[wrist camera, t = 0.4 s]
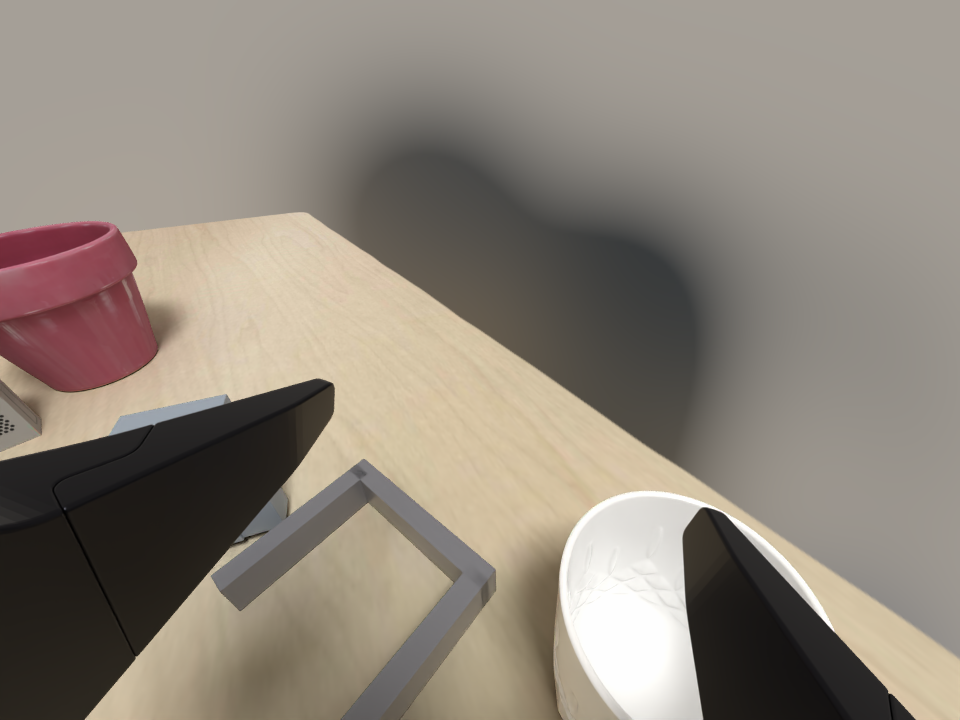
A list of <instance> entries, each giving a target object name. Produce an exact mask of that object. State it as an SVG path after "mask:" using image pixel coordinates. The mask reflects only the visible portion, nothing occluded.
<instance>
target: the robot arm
mask: <svg viewBox="0 0 960 720" xmlns="http://www.w3.org/2000/svg"><path fill="white" fill-rule="evenodd" d="M334 396H335V387H334V385H333V383H331V382H328V381H325V380H322V379H313V380H310V381H306V382H302V383H299V384H295V385H292V386H288V387H284V388H281V389H277V390H274V391H270V392H266V393H263V394H259V395H256V396H252V397H248V398H245V399H241V400H237V401H234V402H230V403H227V404H223V405H219V406H216V407H212V408H209V409H205V410H201V411H198V412H194V413H191V414H187V415H183V416H180V417H176V418H173V419H169V420H165V421H162V422H158V423H156V424H155V425H153V424H151V425H147V426H144V427H140V428H136V429H133V430H129V431H125V432H122V433H118V434H114V435H110V436H106V437H102V438H99V439H95V440H90V441H86V442H82V443H78V444H73V445H69V446H65V447H61V448H56V449H52V450H47V451H43V452H38V453H34V454H29V455H25V456H20V457H16V458H11V459H7V460H3V461H0V720H85V718H86V717H87V716H88V715H89V714H90V712H91V711H92V710H93V709H94V708H95V707H96V705H97V704H98V703H99V702H100V701H101V699H102V698H103V697H104V696H105V695H106V694H107V692H108V691H109V690H110V689H111V688H112V686H113V685H114V684H115V683H116V682H117V681H118V679H119V678H120V677H121V676H122V675H123V673H124V672H125V671H126V670H127V669H128V668H129V666H130V665H131V664H132V663H133V662H134V661H135V659H136V656H138V655H139V654H140V653H141V652H142V651H143V649H144V648H145V647H146V646H147V645H148V644H149V642H150V641H151V640H152V639H153V638H154V636H155V635H156V634H157V633H158V632H159V631H160V629H161V628H162V627H163V626H164V625H165V623H166V622H167V621H168V620H169V619H170V618H171V616H172V615H173V614H174V613H175V612H176V610H177V609H178V608H179V607H180V606H181V605H182V603H183V602H184V601H185V600H186V599H187V598H188V596H189V595H190V594H191V593H192V592H193V590H194V589H195V588H196V587H197V586H198V585H199V583H200V582H201V581H202V580H203V579H204V577H205V576H206V575H207V574H208V573H209V572H210V570H211V569H212V568H213V567H214V566H215V564H216V563H217V562H218V561H219V560H220V559H221V557H222V556H223V555H224V554H225V553H226V551H227V550H228V549H229V548H230V547H231V546H232V544H233V543H234V542H235V541H236V540H237V539H238V537H239V536H240V535H241V534H242V533H243V531H244V530H245V529H246V528H247V527H248V526H249V524H250V523H251V522H252V521H253V520H254V518H255V517H256V516H257V515H258V514H259V513H260V511H261V510H262V509H263V508H264V507H265V505H266V504H267V503H268V502H269V501H270V500H271V498H272V497H273V496H274V495H275V494H276V492H277V491H278V490H279V489H280V488H281V487H282V485H283V484H284V483H285V482H286V481H287V480H288V478H289V477H290V476H291V475H292V474H293V472H294V471H295V470H296V469H297V467H298V466H299V465H300V463H301V462H302V460H303V459H304V458H305V456H306V455H307V453H308V452H309V450H310V449H311V447H312V446H313V444H314V443H315V441H316V440H317V438H318V437H319V435H320V434H321V432H322V431H323V429H324V428H325V427H326V425H327V424H328V422H329V421H330V419H331V417H332V415H333V412H334ZM682 544H683V565H684V586H685V603H686V612H687V620H688V626H689V632H690V639H691V645H692V652H693V658H694V664H695V671H696V677H697V683H698V690H699V696H700V703H701V709H702V715H703V720H916V719H915V718H914V717H913V716H912V715H911V714H910V713H909V712H908V711H907V710H906V709H905V707H904V706H903V705H902V704H901V703H900V702H899V701H898V700H897V699H896V698H895V697H894V696H893V695H892V694H889V693H888V690H887V688H886V687H885V686H884V685H883V684H882V683H881V682H880V681H879V680H878V678H877V677H876V676H875V675H874V674H873V673H872V672H871V671H870V670H869V669H868V668H867V667H866V666H865V665H864V663H863V662H862V661H861V660H860V659H859V658H858V657H857V656H856V655H855V654H854V653H853V652H852V651H851V649H850V648H849V647H848V646H847V645H846V644H845V643H844V642H843V641H842V640H841V639H840V638H839V637H838V635H837V634H836V633H835V632H834V631H833V630H832V629H831V628H830V627H829V626H828V625H827V624H826V623H825V621H824V620H823V619H822V618H821V617H820V616H819V615H818V614H817V613H816V612H815V611H814V610H813V609H812V607H811V606H810V605H809V604H808V603H807V602H806V601H805V600H804V599H803V598H802V597H801V596H800V595H799V593H798V592H797V591H796V590H795V589H794V588H793V587H792V586H791V585H790V584H789V583H788V582H787V581H786V579H785V578H784V577H783V576H782V575H781V574H780V573H779V572H778V571H777V570H776V569H775V568H774V567H773V565H772V564H771V563H770V562H769V561H768V560H767V559H766V558H765V557H764V556H763V555H762V554H761V553H760V551H759V550H758V549H757V548H756V547H755V546H754V545H753V544H752V543H751V542H750V541H749V540H748V539H747V537H746V536H745V535H744V534H743V533H742V532H741V531H740V530H739V529H738V528H737V527H736V526H735V525H734V523H733V522H732V521H731V520H730V519H729V518H728V517H727V516H726V515H725V514H724V513H722V512H720V511H717V510H714V509H711V508H708V507H702V508H700V509H699V510H698V512H697V513H696V514H695V516H694V517H693V518H692V520H691V521H690V522H689V524H688V525H687V527H686V528H685V530H684V532H683V537H682Z"/></svg>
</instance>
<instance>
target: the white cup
mask: <svg viewBox="0 0 960 720" xmlns="http://www.w3.org/2000/svg"><path fill="white" fill-rule="evenodd" d="M702 507H708V508H711V509H714V510H717V511H720V512H722V513H724V514H725V515H726V516H727V517H728V518H729V519H730V520H731V521H732V522H733V523H734V525H735V526H736V527H737V528H738V529H739V530H740V531H741V532H742V533H743V534H744V535H745V536H746V537H747V539H748V540H749V541H750V542H751V543H752V544H753V545H754V546H755V547H756V548H757V549H758V550H759V551H760V553H761V554H762V555H763V556H764V557H765V558H766V559H767V560H768V561H769V562H770V563H771V564H772V565H773V567H774V568H775V569H776V570H777V571H778V572H779V573H780V574H781V575H782V576H783V577H784V578H785V579H786V581H787V582H788V583H789V584H790V585H791V586H792V587H793V588H794V589H795V590H796V591H797V592H798V593H799V595H800V596H801V597H802V598H803V599H804V600H805V601H806V602H807V603H808V604H809V605H810V606H811V607H812V609H813V610H814V611H815V612H816V613H817V614H818V615H819V616H820V617H821V618H822V619H823V620H824V621H825V623H826V624H827V625H828V626H829V627H830V628H831V629H832V630H833V631H834V629H833V627H832V624H831V622H830V620H829V619H828V617H827V615H826V613H825V611H824V609H823V608H822V606H821V604H820V603H819V601H818V599H817V598H816V596H815V595H814V593H813V592H812V590H811V589H810V588H809V586H808V585H807V584H806V582H805V581H804V580H803V578H802V577H801V576H800V575H799V573H798V572H797V571H796V570H795V569H794V568H793V566H792V565H791V564H790V563H789V562H788V561H787V560H786V559H785V558H784V557H783V556H782V555H781V554H780V553H779V552H778V551H777V550H776V549H775V548H774V547H773V546H772V545H771V544H769V543H768V542H767V541H766V540H765V539H764V538H762V537H761V536H760V535H759V534H757V533H756V532H755V531H753V530H752V529H751V528H749V527H748V526H746V525H745V524H743V523H742V522H740V521H739V520H737V519H736V518H734V517H732V516H731V515H729V514H727V513H725V512H723V511H721V510H719V509H717V508H715V507H713V506H711V505H709V504H706V503H704V502H701V501H699V500H696V499H693V498H690V497H686V496H683V495H679V494H674V493H668V492H661V491H635V492H628V493H624V494H620V495H616V496H613V497H611V498H608V499H606V500H604V501H602V502H601V503H599V504H597V505H596V506H594V507H593V508H592V509H590V510H589V511H588V512H587V513H586V514H585V515H584V516H583V517H582V518H581V519H580V520H579V521H578V523H577V524H576V525H575V527H574V528H573V530H572V532H571V534H570V536H569V538H568V540H567V542H566V545H565V548H564V551H563V555H562V559H561V565H560V573H559V585H558V596H557V606H556V616H555V626H554V666H553V669H554V678H555V688H556V697H557V706H558V711H559V713H560V715H561V717H562V719H563V720H703V715H702V709H701V703H700V696H699V690H698V683H697V677H696V671H695V664H694V658H693V652H692V645H691V639H690V632H689V626H688V620H687V612H686V603H685V586H684V565H683V544H682V537H683V532H684V530H685V528H686V527H687V525H688V524H689V522H690V521H691V520H692V518H693V517H694V516H695V514H696V513H697V512H698V510H699V509H700V508H702ZM834 632H835V631H834Z"/></svg>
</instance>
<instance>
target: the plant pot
mask: <svg viewBox="0 0 960 720" xmlns="http://www.w3.org/2000/svg"><path fill="white" fill-rule="evenodd" d="M136 266H137V260H136V258H135V256H134V254H133V252H132V251H131V249H130V247H129V246H128V244H127V242H126V241H125V239H124V237H123V236H122V234H121V233H120V231H119V229H118V228H117V227H116V226H115V225H113V224H111V223H108V222H98V221H87V222H71V223H62V224H55V225H47V226H40V227H34V228H28V229H22V230H16V231H11V232H6V233H1V234H0V356H2V357H4V358H5V359H7V360H8V361H10V362H11V363H13V364H15V365H16V366H18V367H19V368H21V369H23V370H24V371H26V372H27V373H29V374H31V375H32V376H34V377H36V378H37V379H39V380H41V381H42V382H44V383H45V384H47V385H48V386H50V387H51V388H53V389H55V390H59V391H68V392H70V391H81V390H87V389H92V388H96V387H99V386H103V385H106V384H109V383H111V382H114V381H116V380H119V379H121V378H123V377H125V376H127V375H129V374H131V373H133V372H135V371H137V370H138V369H140V368H141V367H143V366H144V365H146V364H147V363H148V362H149V361H150V360H151V359H152V358H153V357H154V356H155V354H156V352H157V349H158V346H157V343H156V340H155V337H154V334H153V331H152V328H151V325H150V322H149V319H148V315H147V312H146V309H145V307H144V304H143V301H142V298H141V295H140V292H139V290H138V287H137V284H136V281H135V279H134V276H133V273H132V272H133V271H134V269H135V268H136Z"/></svg>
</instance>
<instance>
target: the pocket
mask: <svg viewBox="0 0 960 720" xmlns="http://www.w3.org/2000/svg"><path fill="white" fill-rule="evenodd" d="M367 502H369V503H370V504H371V505H372V506H373V507H374V508H375V509H376V510H377V511H378V512H379V513H380V514H382V515H383V516H384V517H385V518H386V519H387V520H388V521H389V522H390V523H391V524H392V525H393V526H394V527H395V528H397V529H398V530H399V531H400V532H401V533H402V534H403V535H404V536H405V537H406V538H407V539H408V540H409V541H410V542H412V543H413V544H414V545H415V546H416V547H417V548H418V549H419V550H420V551H421V552H422V553H423V554H424V555H425V556H426V557H428V558H429V559H430V560H431V561H432V562H433V563H434V564H435V565H436V566H437V567H438V568H439V569H440V570H441V571H443V572H444V573H445V574H446V575H447V576H448V577H449V578H450V579H451V580H452V581H453V582H454V584H453V585H452V587H451V588H450V589H449V590H448V591H447V593H446V594H445V595H444V596H443V597H442V599H441V600H440V601H439V602H438V603H437V605H436V606H435V607H434V608H433V609H432V611H431V612H430V613H429V614H428V615H427V617H426V618H425V619H424V620H423V621H422V623H421V624H420V625H419V626H418V627H417V629H416V630H415V631H414V632H413V633H412V635H411V636H410V637H409V638H408V639H407V641H406V642H405V643H404V644H403V645H402V647H401V648H400V649H399V650H398V651H397V653H396V654H395V655H394V656H393V657H392V659H391V660H390V661H389V662H388V663H387V665H386V666H385V667H384V668H383V669H382V671H381V672H380V673H379V674H378V675H377V677H376V678H375V679H374V680H373V681H372V683H371V684H370V685H369V686H368V687H367V689H366V690H365V691H364V692H363V693H362V695H361V696H360V697H359V698H358V699H357V701H356V702H355V703H354V704H353V705H352V707H351V708H350V709H349V710H348V711H347V713H346V714H345V715H344V716H343V717H342V719H341V720H400V718H401V717H402V716H403V714H404V713H405V712H406V710H407V709H408V708H409V706H410V705H411V704H412V702H413V701H414V700H415V698H416V697H417V696H418V694H419V693H420V692H421V690H422V689H423V688H424V686H425V685H426V684H427V682H428V681H429V680H430V678H431V677H432V676H433V674H434V673H435V671H436V670H437V669H438V667H439V666H440V665H441V663H442V662H443V661H444V659H445V658H446V657H447V655H448V654H449V653H450V651H451V650H452V649H453V647H454V646H455V645H456V643H457V642H458V641H459V639H460V638H461V637H462V635H463V634H464V633H465V631H466V630H467V629H468V627H469V626H470V625H471V623H472V622H473V620H474V619H475V618H476V616H477V615H478V614H479V612H480V611H481V610H482V608H483V607H484V606H485V604H486V603H487V602H488V600H489V599H490V598H491V596H492V595H493V594H494V592H495V591H496V569H494V568H493V567H492V566H491V565H490V564H489V563H487V562H486V561H485V560H484V559H483V558H481V557H480V556H479V555H478V554H477V553H476V552H474V551H473V550H472V549H471V548H470V547H468V546H467V545H466V544H465V543H464V542H462V541H461V540H460V539H459V538H458V537H457V536H455V535H454V534H453V533H452V532H451V531H449V530H448V529H447V528H446V527H445V526H443V525H442V524H441V523H440V522H439V521H438V520H436V519H435V518H434V517H433V516H432V515H430V514H429V513H428V512H427V511H426V510H425V509H423V508H422V507H421V506H420V505H419V504H417V503H416V502H415V501H414V500H413V499H411V498H410V497H409V496H408V495H407V494H406V493H404V492H403V491H402V490H401V489H400V488H398V487H397V486H396V485H395V484H394V483H392V482H391V481H390V480H389V479H388V478H387V477H385V476H384V475H383V474H382V473H381V472H379V471H378V470H377V469H376V468H375V467H374V466H372V465H371V464H370V463H369V462H368V461H366V460H365V459H363V460H361V461H360V462H359V463H358V464H356V465H355V466H354V467H352V468H351V469H350V470H348V471H347V472H346V473H344V474H343V475H342V476H341V477H339V478H338V479H337V480H335V481H334V482H333V483H331V484H330V485H329V486H328V487H326V488H325V489H324V490H322V491H321V492H320V493H318V494H317V495H316V496H314V497H313V498H312V499H311V500H309V501H308V502H307V503H305V504H304V505H303V506H301V507H300V508H299V509H297V510H296V511H295V512H294V513H292V514H291V515H290V516H288V517H287V518H286V519H284V520H283V521H282V522H280V523H279V524H278V525H277V526H275V527H274V528H273V529H271V530H270V531H269V532H267V533H266V534H265V535H263V536H262V537H261V538H260V539H258V540H257V541H256V542H254V543H253V544H252V545H250V546H249V547H248V548H247V549H245V550H244V551H243V552H241V553H240V554H239V555H237V556H236V557H235V558H233V559H232V560H231V561H230V562H228V563H227V564H226V565H224V566H223V567H222V568H220V569H219V570H218V571H216V572H215V573H214V574H213V575H211V577H212V579H213V581H214V582H215V584H216V586H217V588H218V589H219V591H220V592H221V593H222V594H223V595H224V596H225V597H226V598H227V599H228V600H229V601H230V602H231V603H232V604H233V605H234V606H235V607H236V608H237V609H238V610H239V611H241V610H242V609H243V608H244V607H246V606H247V605H248V604H249V603H250V602H251V601H253V600H254V599H255V598H256V597H257V596H258V595H260V594H261V593H262V592H263V591H264V590H265V589H267V588H268V587H269V586H270V585H271V584H273V583H274V582H275V581H276V580H277V579H278V578H280V577H281V576H282V575H283V574H284V573H285V572H287V571H288V570H289V569H290V568H291V567H292V566H294V565H295V564H296V563H297V562H298V561H299V560H301V559H302V558H303V557H304V556H305V555H307V554H308V553H309V552H310V551H311V550H312V549H314V548H315V547H316V546H317V545H318V544H319V543H321V542H322V541H323V540H324V539H325V538H326V537H328V536H329V535H330V534H331V533H332V532H333V531H335V530H336V529H337V528H338V527H339V526H341V525H342V524H343V523H344V522H345V521H346V520H348V519H349V518H350V517H351V516H352V515H353V514H355V513H356V512H357V511H358V510H359V509H360V508H362V507H363V506H364V505H365V504H366V503H367Z"/></svg>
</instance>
